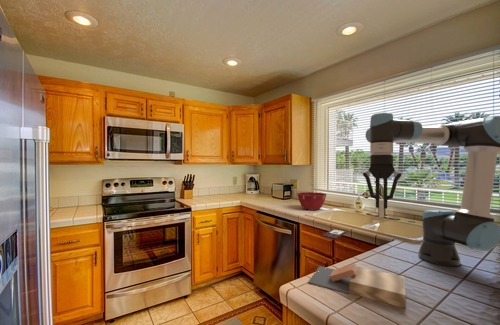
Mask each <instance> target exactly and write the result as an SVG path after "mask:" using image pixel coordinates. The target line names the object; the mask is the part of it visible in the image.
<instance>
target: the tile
mask: <svg viewBox="0 0 500 325" xmlns="http://www.w3.org/2000/svg"><path fill="white" fill-rule="evenodd" d="M356 266H357V265H356V263H352V264H349V265H345V266H343V267H339V268H337V269H335V270H333V271H332V273H331V275H330V278H331V280H332V282H333V281H337V280H340V279H344V278H347V277H351V276H354V275H356V272H357V269H358V268H357V267H358V266H357V267H356Z"/></svg>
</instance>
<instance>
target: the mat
mask: <svg viewBox="0 0 500 325" xmlns="http://www.w3.org/2000/svg"><path fill="white" fill-rule="evenodd" d="M325 268H326V269H325ZM333 270H336V269H333V268H331V267H326V266H321V265H319V266H318V268H316V270H315V272H316V273H315V272H314V273H313V274H312V276H311V277H310V279H309V280H307V283H308V284H310V285H315V286H318V287H321V288H325V289H329V290H332V291H336V292H340V293H342V294H347V295H349V294H350V293H349V281H350V278H351V277H347V278H344V279H340V280H337V281H333V282H332V280H331V278H330V275H331V273H332V271H333ZM318 271H319V272H318Z"/></svg>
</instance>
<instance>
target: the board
mask: <svg viewBox="0 0 500 325" xmlns="http://www.w3.org/2000/svg"><path fill="white" fill-rule="evenodd" d="M356 267H357V268H358V269H357V272H356V275H354V276H351V278H350V281H349V294H353V295H356V296H359V297H362V298H363V297H364V298H367V299H370V300H374V301H378V302H381V303H385V304H389V305H393V306H396V307H400V308H404V309H406V299H407V297H406V287H405V285H406V284H405V276H403V275H398V274H393V273H388V272H385V271H380V270H376V269H375V270H374V269H370V268H366V267H361V266H357V265H356Z"/></svg>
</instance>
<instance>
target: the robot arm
mask: <svg viewBox="0 0 500 325" xmlns="http://www.w3.org/2000/svg"><path fill="white" fill-rule="evenodd" d="M365 140H366V141H367V142H368V143H370V146H369V148H370V150H369V151H370V154H371V155H370V158H369V159H370V160H369V161H370V162H369V163H370V165H369V167H368V170H367V171H365V172H364V171H363V172H362V176H364V178H365V182H366V185H367V189H368V192H369V196H370V198H373V199H375V208H377V209H378V217H379V218H380V219H381V218H383V219H384V218H385V209H386V210H387V209H388V201H389V200H391V199H393V198H394V196H395V191H396V188H397V185H398V181H399V179H400V178H401V177H402V173H401V172H398V171H396V170H395V169H396V168H395V167H394V155H393V154H394V143H397V144H398V143H405V144H406V143H407V144H410V143H411V144H412V143H413V144H432V145H434V146H447V147H456V148H457V147H459V148H463V147H464V149H463V150H464V151H466V152H467V159H466V167H465V174H464V181H463V189H462V196H461V197H462V198H461V203H460V204H461V205H460V208H458V209H456V210H450V209H449V210H448V209H426V210H424V211H423V214H422V242H421V244H420V246H419V249H418V257H419V258H420V259H422V261H423V260H424V261H425V262H428V263H431V264H435V265H439V266H447V267H457V266H460V265H461V257H460V255H459V252H458V250H457V247H456V244H459V245H462V246H464V247H469V248H470V249H475V250H478V251H483V252H484V251H485V252H486V251H490V250H492V249H494V248H495V247H497V246H498V244H499V243H500V225H499V224H497V223H496V222H495V217H494V216H493V215H492V214H491V212H490V211H491V204H492V196H493V188H494V182H495V175H496V174H495V173H496V167H497V159H498V155H499V153H500V115H492V116H488V115H487V116H484V117H479V118H473V119H468V120H461V121H457V122H451V123H447V124H436V125H435V126H423V125H422V123H421V122H420V121H419V120H413V119H396V118H395V119H394V115H393V113H392V112H378V113H373V114H372V115H371V116H370V125H369V128H367V130H366V131H365ZM371 175H372V177H373V178H374V179H375V192H374V189H373V185H372V181H371V178H370V177H371ZM392 175H393V177H394V179H393V182H392V186H391V188H390V189H391V190H390V192H389V194H388V179H390V178H391V176H392ZM380 180H383V198H381V197H380V192H381V191H380V188H381V186H380V182H381V181H380Z"/></svg>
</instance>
